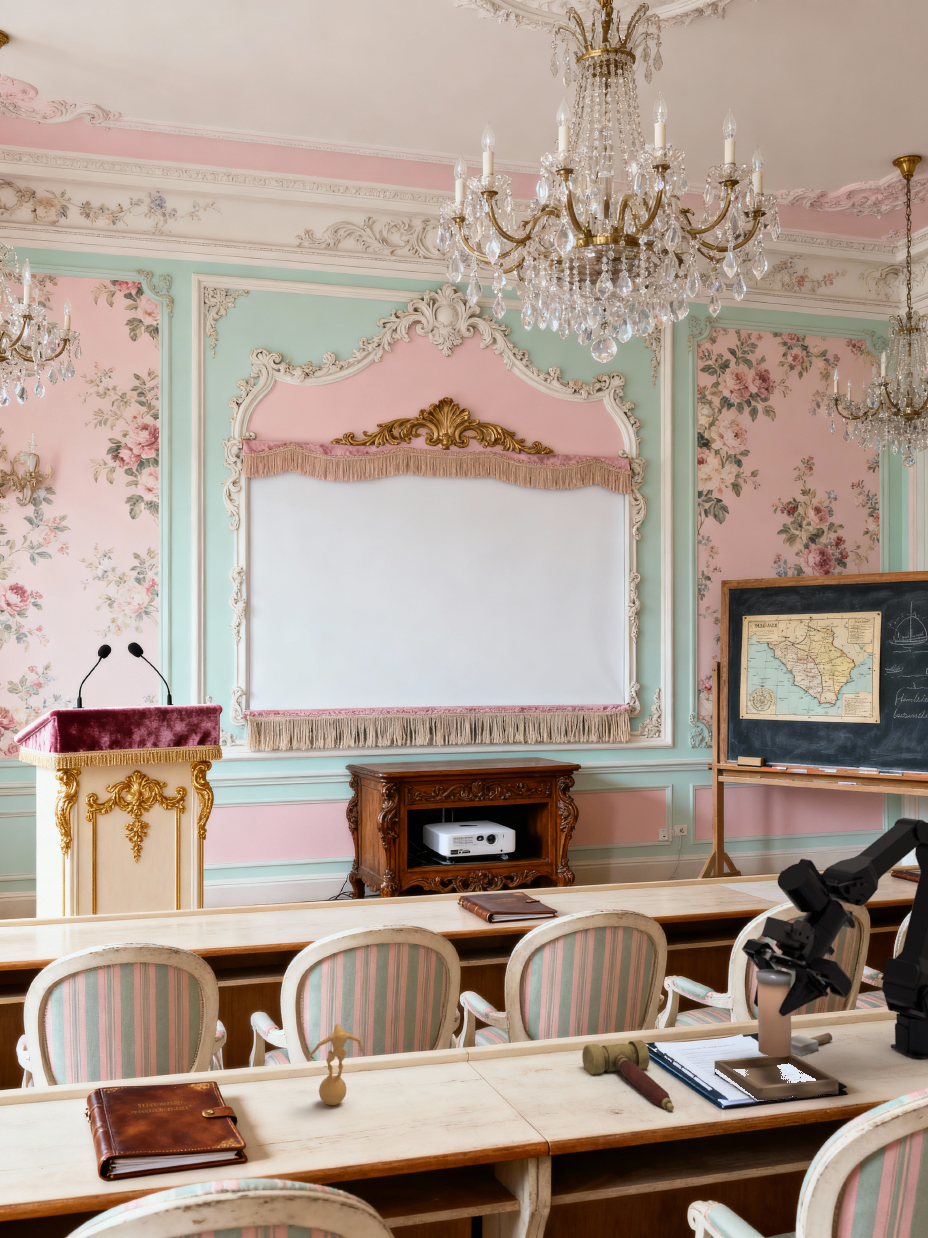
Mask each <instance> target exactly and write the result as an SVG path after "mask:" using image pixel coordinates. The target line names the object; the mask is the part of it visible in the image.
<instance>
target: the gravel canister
mask: <svg viewBox="0 0 928 1238" xmlns="http://www.w3.org/2000/svg"><path fill="white" fill-rule="evenodd" d="M755 978H756V979H755V980H756V981H757V984H758V1007H757V1032H758V1035H757V1037H758V1039H757V1043H758V1052H759V1053H760V1054H762V1055H763V1056H773V1057H786V1056H790V1055H791V1054H792V1055H793V1053H792V1047H791V1037H792V1012H791V1013H789V1014H787V1015H786V1016H781V1014H780V1013H779V1009H780V1007H781V1005H782V1003H783V1001H784V999H785V997H786V996H787V994H788V992H789V990H790V989H791V987H792V985H791V984H792V982H793V976H792V973H790V972H789V971H786V970H782V969H781V970H776V969H762V970H759V969H757V970H756V971H755Z"/></svg>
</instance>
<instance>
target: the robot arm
mask: <svg viewBox="0 0 928 1238" xmlns="http://www.w3.org/2000/svg"><path fill="white" fill-rule="evenodd" d="M913 850H915V851H914V856H915V859H916V862H917V864H918V867H919V870H920V873H919V878H918V882H917V886H916V890H915V895H914V899H913V902H912V907H911V912H910V916H909V919H908V920H909V921H908V925H907V928H906V932H905V938H904V941H903V946H902V949H901V952H899V954H898V955H897V956H895V958H893V957H891V956H889V957H887V958H886V960H885V965H884V970H883V974H882V976H881V978H880V981H882V985H881V990H882V993H883V995H884V999H885V1003H886V1006H887V1010H888V1012H889V1011H890V1012H894V1013H896V1017H895V1018H896V1023H895V1024H894V1043H891V1044H890V1048H892V1049H893V1050H896V1051H898V1052H900V1053H901V1054H904V1055H906V1056H909V1057H911V1058H912V1059H916V1060H921V1059H928V821H925V820H923V819H917V818H916V819H915V818H908V817H902V818H899V819H897V820H896V821H895V822H894V825H893V826H892V827H891V828H889V829H888V830H887V831H886V832H884V833H883V834H882V835H881V836H880V837H879V838H877V839H876V840H874V842H872V843H871V844H869V845H868V847H866V848H865V849H864V850H863V851H861V852H860V853H858V855H855V856H854V857H850V858H847V859H842V860H839V861H837V862H835V863H833V864H832V865H830V866H828V867H826V868H825V869H824V871H823V872H822V873H820V872H819V870H818V869H817V867H816V865H815V863H814V862H813V860H811V859H805V858H800V860H799V861H798V862H797V863H795V864H794V863H793V864H792V865H789V866H788V867H787V868H784V870H782V871H781V872H780V874H778V878H777V886H778V887H779V888H780V890H781V891H782V892H783V893H784V895H785V896H786V897H787V898H788V900H789V901H790V902H791V904H792V905H793V906H794V908H796V909H797V911H799V912H801V913H804V914H805V915H804V916H803V918H802V920H801V919H795V920H794V922H789V921H787V920H784V919H780V918H775V917H771V916H767V917H766V920H765V923H764V925H763V926H764V927H763V930H762V932H761V936H762V937H763V938H768V939H771V940H772V941H775V942H776V943H775V944H774V946H775V948H777V949H778V950H780V951H781V954H780V953H777V951H775V949H774V948H773V947H772V946H771V944H770V943H769V942H767V941H764V940H760V939H757V938H749V939H747V940H746V942H745V943H744V945H743V946H742V948H741V951H742V952H743V953H744V954H745V955H746V956H747V958H748V959H749V960H750V961H751V962H752V964H753V965H754V966H755V967H756V969H757V970H762V969H776V970H782V969H785V970H788V971H790V972H791V971H792V972H794V973H795V974H794V981H793V983H792V985H791V989H790V990H789V992H788V994H787V996H786V997H785V999H784V1001H783V1003H782V1005H781V1007H780V1009H779V1013H780V1014H781V1016H786V1015H787V1014H789V1013H791V1014H792V1013H793V1012H795V1011H796V1010H799V1009H800V1008H801V1007H803V1006H805V1005H807V1004H809V1003H811V1002H813V1001H816V1000H818V999H820V998H823V997H825V998H826V997H828V996H829V992H830V993H831V995H833V996H836V997H841V998H844V999H846V998H847V996H848V995H849V993H850V992H851V990H852V980H851V978H850V977H849V976H848V975H847V973H846V972H845V970H844V969H843V968H842V967H841V966H840V964H839V963H838V962H837V961H836V960H835V961H834V960H831V959H828V958H825V957H826V955H828V956H833V954H834V953H835V952H836V951H835V949H834V948H833V947H832V945H833V944H834V942H835V940H836V938H837V937H838V935H839V934H840V932H841V931H842V929H843V928H844V927H845V928H849V929H855V928H856V922H855V920H854V917H853V916H854V915H853V911H852V910H847V909H846V908H845V907H844V905H843V904H848V905H851V906H852V905H853V906H856V907H862V906H864V905H866V904H867V903H868V902H869V900H871V898H872V897H873V895H874V894H876V892H877V891H878V888H879V881H880V879H881V878H882V876H884V875H885V874H886V873H887V872H888V871H889V870H891V869H892V868H893V867H894V866H896V865H897V864H898V863H899V862H900V861H901V860H903V859H904V858H905V857H906V856H908V855H909V854H910V853H911V852H912V851H913ZM842 903H843V904H842ZM828 989H829V992H828V991H827V990H828ZM753 1004H754V1005H755V1006H756V1007H757V1008H758V983H757V984H756V990H755V994H754V999H753Z"/></svg>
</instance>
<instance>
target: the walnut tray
mask: <svg viewBox="0 0 928 1238" xmlns="http://www.w3.org/2000/svg"><path fill="white" fill-rule="evenodd" d="M788 1063H789V1064H791V1065H793V1066H794V1067H796V1068H797V1069H798V1070H800V1071H802V1072H803V1073H805V1074H807V1075H809V1076H811V1077H812V1078H815V1079H816V1081H806V1082H801V1081H799V1082H797V1083H791V1081H790V1083H789V1081H788V1080H789V1079H788V1080H787V1079H786V1080H785V1079H784V1080H783V1079H781V1076H782V1075H781V1074H782V1072H781V1071H780V1070H781V1069H779V1068H778V1067H777V1065H781V1064H788ZM715 1069H717V1070H719V1071H720V1072H721V1073H723V1074H724V1075H726V1076H727V1077H728V1078H730V1079H731V1080H732V1081H734V1082H735V1083H737V1084H738V1085H739V1086H740V1087H742V1088H743V1089H745V1091H747V1092H748V1093H750V1094H751V1095H752V1096H754V1098H756V1099H757V1100H764V1101H765V1100H774V1099H775V1100H776V1099H783V1098H784V1099H785V1098H789V1097H792V1096H793V1097H794V1098H795V1097H797V1098H795V1099H802V1098H803V1099H806V1098H811V1097H813V1096H814V1097H821V1096H822V1095H821V1094H832V1095H839V1080H838V1079H837V1078H835V1077H833V1076H831V1075H829V1074H828V1073H827V1072H824V1071H822V1070H821V1069H819V1068H817V1067H815V1066H813V1065H812V1064H810V1063H808V1062H806V1061H805V1060H802V1059H800V1058H799V1057H797V1056H795V1055H793V1053H792V1054H791V1055H790V1056H786V1057H773V1056H768V1055H761V1056H751V1057H742V1058H741V1057H740V1058H729V1059H720V1060H714V1070H715ZM733 1069H745V1070H746V1071H747V1070H748V1071H747V1072H746V1071H745V1072H746V1073H747V1074H749V1075H747V1074H746V1073H745V1074H746V1076H745V1077H744V1076H743V1075H741V1074H740V1073H738V1072H736V1071H735V1070H733ZM780 1072H781V1073H780ZM802 1072H801V1073H802ZM799 1073H800V1072H799ZM801 1073H800V1074H801ZM803 1073H802V1074H803ZM785 1076H786V1075H785ZM782 1078H783V1076H782ZM784 1078H785V1077H784ZM800 1078H801V1077H800ZM787 1081H788V1083H787ZM818 1095H819V1096H818ZM820 1095H821V1096H820ZM822 1097H823V1096H822Z"/></svg>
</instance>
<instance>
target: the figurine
mask: <svg viewBox="0 0 928 1238" xmlns="http://www.w3.org/2000/svg"><path fill="white" fill-rule="evenodd" d="M333 1029H334V1030H333V1033H331V1034H330V1035H329V1036H327V1037H326V1038H325V1039H323V1040H321V1041H319V1042H318V1043H317V1044H316V1046H315V1047H314V1048H313V1049H312V1051H311V1052H310V1054H309V1056H308V1062H309V1061H310V1060H311V1057H312V1056H313V1055H314V1054H315V1053H316V1052H317V1051H318V1050H319V1048H320V1047H322V1046H323V1045H326V1044H328V1043H330V1042H331V1044H332V1045H331V1046H332V1049H333V1050H331V1049H329V1050H328V1052H327V1053H328V1054H327V1057H326V1063H327V1070H328V1071H329V1074H328V1075H327V1076H326V1077H325V1078H324V1079H323V1080H322V1081H321V1083H320V1085H319V1089H318V1095H319V1097H320V1099H321V1101H322V1102H323V1103H324V1104H326V1105H328V1106H337V1105H339V1104H340V1103H342V1101H344V1099H345V1098H346V1095H347V1085H346V1084H347V1083H345V1080H344V1079H343V1078H342V1073H343V1068H344V1065H343V1063H342V1062H343V1061H344V1060H345V1057H346V1055H347V1049H346V1048H344V1047H345V1045H346V1043H347V1040H350V1041H354V1042H357V1044H358V1047H359V1051H360V1053H361V1055H364V1054H365V1049H364V1047H363V1044H362V1040H361V1039H360V1037H357V1036H355V1035H352V1034H350V1033H348V1032H346V1031H345V1030H344V1029H343V1027H342V1026H341V1024H340V1023H336V1024H335V1026H334V1028H333ZM335 1058H337V1060H338V1066H337V1067H338V1072H337V1074H336V1075H333V1070H334V1069H333V1065H332V1064H331V1063H332V1062H333V1061H334V1060H335Z"/></svg>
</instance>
